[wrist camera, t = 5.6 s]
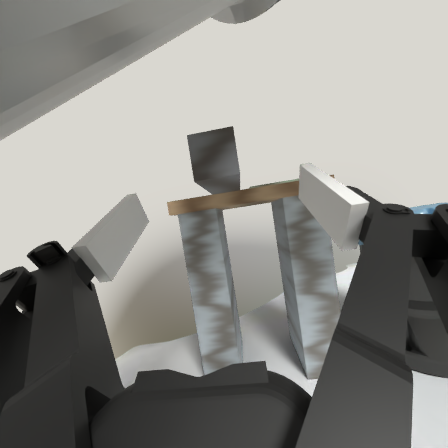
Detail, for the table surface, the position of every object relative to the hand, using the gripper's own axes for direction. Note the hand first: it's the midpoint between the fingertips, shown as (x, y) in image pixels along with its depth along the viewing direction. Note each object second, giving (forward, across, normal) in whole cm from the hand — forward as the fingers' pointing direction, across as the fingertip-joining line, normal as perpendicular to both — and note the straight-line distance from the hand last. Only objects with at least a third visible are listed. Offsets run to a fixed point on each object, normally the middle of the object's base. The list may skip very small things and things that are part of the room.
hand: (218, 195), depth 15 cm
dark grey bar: (+15, 0, +7) cm, 16 cm away
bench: (+1, -3, +34) cm, 34 cm away
